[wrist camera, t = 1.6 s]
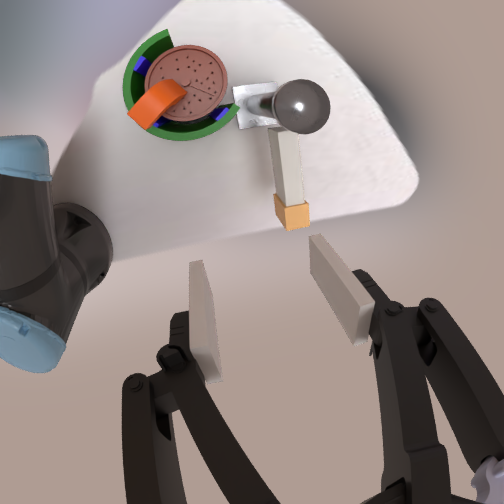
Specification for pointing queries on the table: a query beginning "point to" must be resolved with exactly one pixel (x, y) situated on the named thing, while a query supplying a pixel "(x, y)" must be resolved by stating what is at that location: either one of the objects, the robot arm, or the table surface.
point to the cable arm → (288, 179)
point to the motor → (176, 89)
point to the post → (283, 105)
